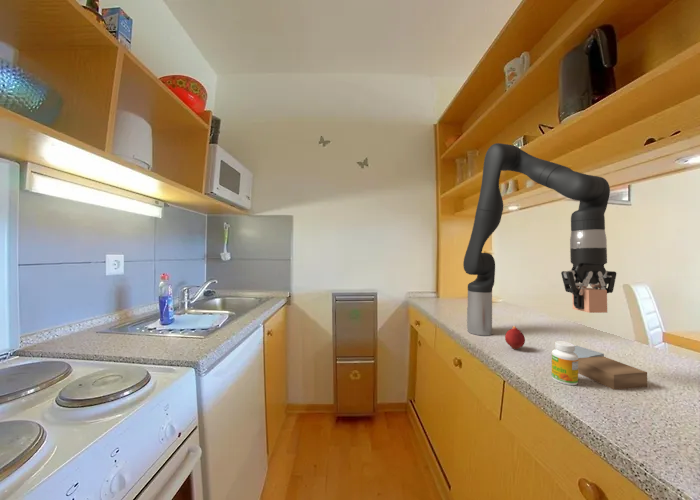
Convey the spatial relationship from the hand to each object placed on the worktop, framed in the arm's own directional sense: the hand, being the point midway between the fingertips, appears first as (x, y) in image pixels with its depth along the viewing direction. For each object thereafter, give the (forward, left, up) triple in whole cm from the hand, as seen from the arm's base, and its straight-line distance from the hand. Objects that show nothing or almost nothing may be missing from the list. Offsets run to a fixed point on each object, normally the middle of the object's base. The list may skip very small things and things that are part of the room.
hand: (589, 308), depth 72 cm
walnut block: (+2, +3, -19) cm, 19 cm away
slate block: (-7, +5, -18) cm, 20 cm away
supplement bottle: (+3, -10, -18) cm, 21 cm away
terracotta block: (0, 0, -1) cm, 1 cm away
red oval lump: (-19, -8, -18) cm, 27 cm away
